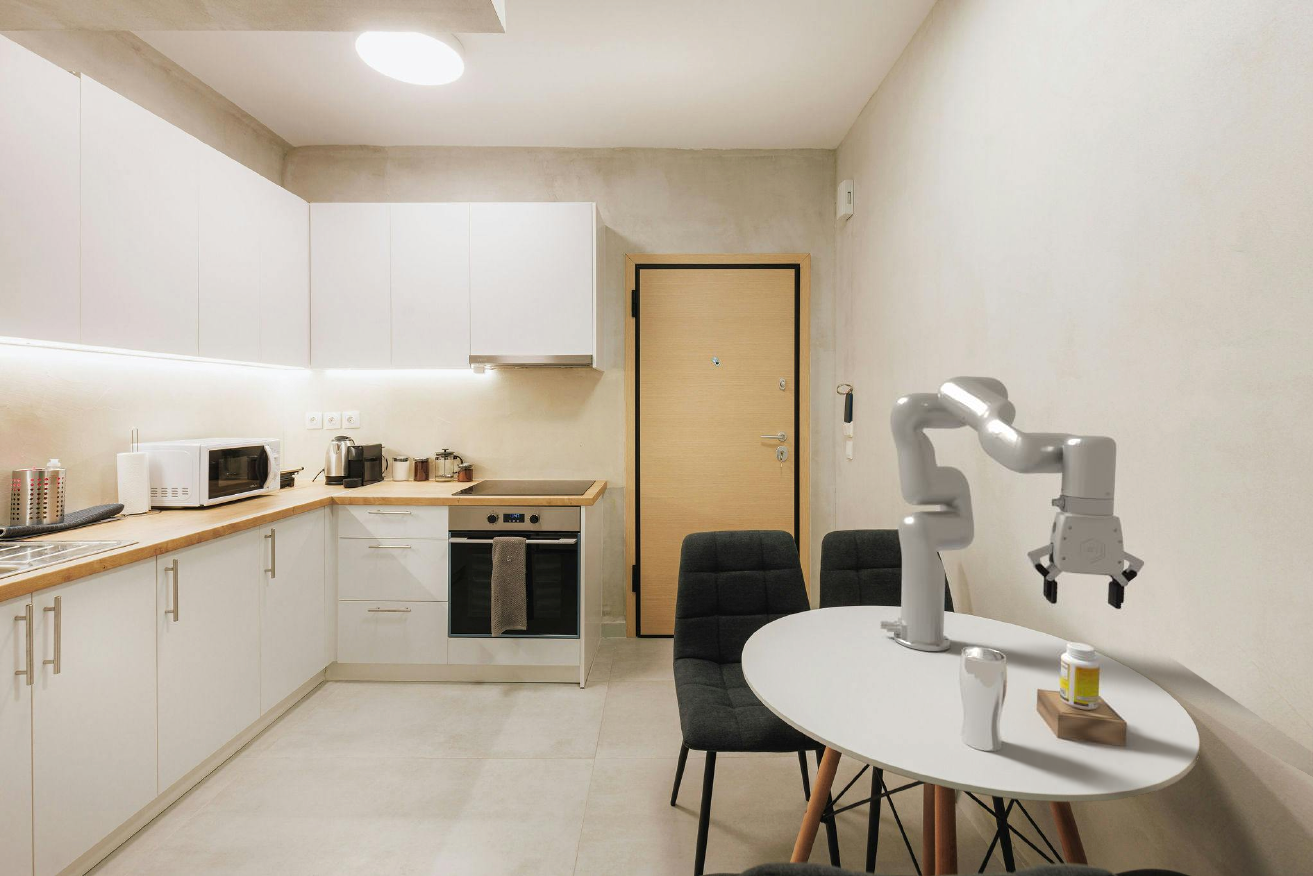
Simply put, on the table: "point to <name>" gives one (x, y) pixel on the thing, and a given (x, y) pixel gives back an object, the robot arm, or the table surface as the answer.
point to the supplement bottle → (1079, 677)
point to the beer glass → (982, 696)
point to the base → (1081, 720)
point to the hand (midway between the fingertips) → (1082, 604)
